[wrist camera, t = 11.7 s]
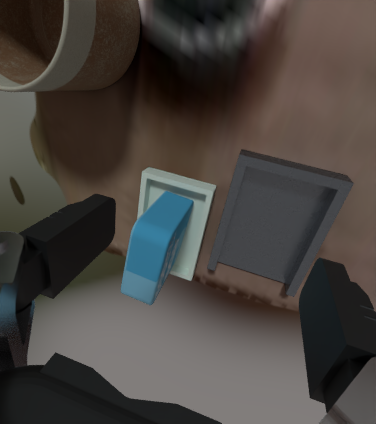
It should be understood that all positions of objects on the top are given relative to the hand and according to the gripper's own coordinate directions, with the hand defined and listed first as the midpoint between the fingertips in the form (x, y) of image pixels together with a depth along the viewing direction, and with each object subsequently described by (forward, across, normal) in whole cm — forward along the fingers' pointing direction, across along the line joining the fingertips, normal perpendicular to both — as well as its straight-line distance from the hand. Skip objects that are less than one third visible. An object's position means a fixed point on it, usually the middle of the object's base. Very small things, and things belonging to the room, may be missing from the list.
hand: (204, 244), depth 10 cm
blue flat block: (+26, +8, +16) cm, 32 cm away
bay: (+27, -6, +11) cm, 30 cm away
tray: (+27, +9, +16) cm, 32 cm away
